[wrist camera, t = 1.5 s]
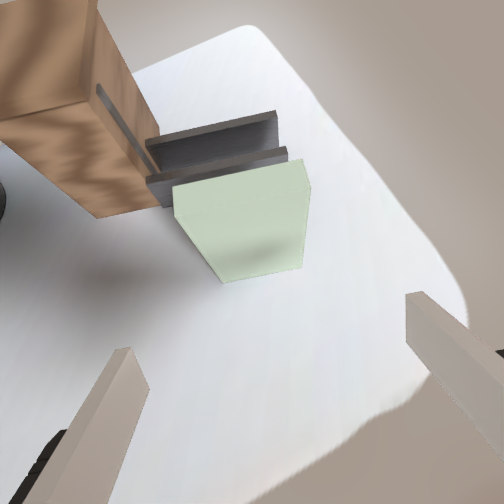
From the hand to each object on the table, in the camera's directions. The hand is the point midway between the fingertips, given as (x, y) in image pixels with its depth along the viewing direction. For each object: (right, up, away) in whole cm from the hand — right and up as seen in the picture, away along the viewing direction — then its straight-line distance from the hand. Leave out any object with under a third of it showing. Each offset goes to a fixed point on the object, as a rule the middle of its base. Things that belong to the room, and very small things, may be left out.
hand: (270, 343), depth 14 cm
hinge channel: (-5, +15, +25) cm, 29 cm away
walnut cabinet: (-18, +16, +27) cm, 36 cm away
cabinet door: (0, +3, +19) cm, 19 cm away
